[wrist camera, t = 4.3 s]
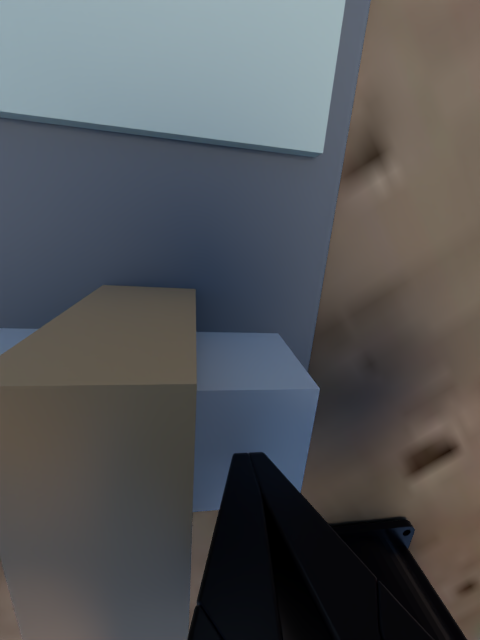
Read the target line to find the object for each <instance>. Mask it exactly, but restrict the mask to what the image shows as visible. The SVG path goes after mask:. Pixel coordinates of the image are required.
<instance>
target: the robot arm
mask: <svg viewBox="0 0 480 640" xmlns="http://www.w3.org/2000/svg"><path fill="white" fill-rule="evenodd" d="M414 531H415V529H414V528H413V526H412V525H411V523H410V522H409V521H408V520H398V521H388V522H378V523H368V524H358V525H349V526H339V527H331V526H330V525H329V524H328V523H327V522H326V521H325V520H324V519H323V518H322V516H321V515H320V514H319V513H318V512H317V511H316V510H315V509H314V508H313V506H312V505H311V504H310V503H309V502H308V501H307V500H306V499H305V498H304V496H303V495H302V494H301V493H300V492H299V491H298V490H297V489H296V488H295V486H294V485H293V484H292V483H291V482H290V481H289V480H288V479H287V478H286V476H285V475H284V474H283V473H282V472H281V471H280V470H279V469H278V468H277V466H276V465H275V464H274V463H273V462H272V461H271V460H270V459H269V458H268V456H267V455H266V454H265V453H263V452H250V453H234V454H233V456H232V459H231V464H230V468H229V472H228V476H227V480H226V484H225V488H224V492H223V496H222V500H221V504H220V509H219V513H218V517H217V521H216V525H215V529H214V533H213V537H212V541H211V545H210V549H209V554H208V558H207V562H206V566H205V570H204V574H203V578H202V582H201V586H200V590H199V594H198V599H197V606H196V607H195V610H194V614H193V618H192V622H191V626H190V630H189V634H188V638H187V640H467V639H466V637H465V636H464V634H463V633H462V631H461V629H460V628H459V626H458V625H457V623H456V622H455V620H454V619H453V617H452V616H451V614H450V613H449V611H448V610H447V608H446V606H445V605H444V603H443V602H442V600H441V599H440V597H439V596H438V594H437V593H436V591H435V590H434V588H433V587H432V585H431V584H430V582H429V580H428V579H427V577H426V576H425V574H424V573H423V571H422V570H421V568H420V567H419V565H418V564H417V562H416V561H415V559H414V557H413V556H412V554H411V553H410V551H409V550H408V548H409V545H410V542H411V540H412V537H413V534H414Z"/></svg>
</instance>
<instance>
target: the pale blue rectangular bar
mask: <svg viewBox="0 0 480 640" xmlns="http://www.w3.org/2000/svg"><path fill="white" fill-rule="evenodd" d="M37 330H38V329H16V328H0V355H1V354H3V353H4V352H6V351H7V350H9V349H10V348H12V347H13V346H15V345H16V344H17V343H19V342H20V341H22V340H23V339H25V338H26V337H28V336H29V335H31V334H32V333H34V332H35V331H37ZM196 358H197V395H196V424H195V454H194V484H193V512H198V511H210V510H219V509H220V504H221V500H222V496H223V492H224V488H225V484H226V480H227V476H228V472H229V468H230V464H231V459H232V456H233V454H234V453H250V452H263V453H265V454H266V455H267V456H268V458H269V459H270V460H271V461H272V462H273V463H274V464H275V465H276V466H277V468H278V469H279V470H280V471H281V472H282V473H283V474H284V475H285V476H286V478H287V479H288V480H289V481H290V482H291V483H292V484H293V485H294V486H295V488H296V489H297V490H298V491H299V492H300V493H301V487H302V482H303V477H304V471H305V466H306V461H307V455H308V450H309V445H310V439H311V434H312V429H313V424H314V418H315V413H316V408H317V402H318V397H319V392H320V388H319V387H318V386H317V384H316V383H315V382H314V380H313V379H312V378H311V376H310V375H309V374H308V372H307V371H306V370H305V368H304V367H303V366H302V364H301V363H300V362H299V360H298V359H297V358H296V356H295V355H294V354H293V352H292V351H291V350H290V348H289V347H288V346H287V344H286V343H285V342H284V340H283V339H282V338H281V336H280V335H279V334H278V333H234V332H196Z"/></svg>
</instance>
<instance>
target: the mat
mask: <svg viewBox="0 0 480 640" xmlns="http://www.w3.org/2000/svg"><path fill="white" fill-rule="evenodd" d="M370 1H371V0H346V1H345V8H344V15H343V21H342V28H341V35H340V42H339V48H338V55H337V62H336V69H335V75H334V82H333V89H332V96H331V102H330V109H329V116H328V122H327V129H326V136H325V143H324V149H323V153H322V154H321V155H319V156H317V157H308V156H300V155H292V154H284V153H277V152H269V151H261V150H253V149H245V148H237V147H229V146H222V145H214V144H206V143H198V142H190V141H182V140H174V139H166V138H159V137H151V136H143V135H135V134H127V133H119V132H111V131H103V130H96V129H88V128H80V127H72V126H64V125H56V124H48V123H41V122H33V121H25V120H17V119H9V118H1V117H0V328H16V329H39V328H41V327H42V326H44V325H45V324H47V323H48V322H50V321H51V320H53V319H54V318H56V317H57V316H58V315H60V314H61V313H63V312H64V311H66V310H67V309H69V308H70V307H72V306H73V305H75V304H76V303H77V302H79V301H80V300H82V299H83V298H85V297H86V296H88V295H89V294H91V293H92V292H94V291H95V290H97V289H98V288H99V287H101V286H102V285H115V286H139V287H162V288H185V289H196V332H234V333H278V334H279V335H280V336H281V338H282V339H283V340H284V342H285V343H286V344H287V346H288V347H289V348H290V350H291V351H292V352H293V354H294V355H295V356H296V358H297V359H298V360H299V362H300V363H301V364H302V366H303V367H304V368H305V370H306V371H307V372H308V367H309V361H310V356H311V350H312V344H313V338H314V332H315V326H316V320H317V314H318V308H319V302H320V297H321V291H322V285H323V279H324V273H325V267H326V261H327V255H328V249H329V243H330V237H331V232H332V226H333V220H334V214H335V208H336V202H337V196H338V190H339V184H340V178H341V173H342V167H343V161H344V155H345V149H346V143H347V137H348V131H349V125H350V119H351V114H352V108H353V102H354V96H355V90H356V84H357V78H358V72H359V66H360V60H361V54H362V49H363V43H364V37H365V31H366V25H367V19H368V13H369V7H370Z"/></svg>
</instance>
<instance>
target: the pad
mask: <svg viewBox="0 0 480 640" xmlns="http://www.w3.org/2000/svg"><path fill="white" fill-rule="evenodd" d="M345 1H346V0H0V117H1V118H9V119H17V120H25V121H33V122H41V123H48V124H56V125H64V126H72V127H80V128H88V129H96V130H103V131H111V132H119V133H127V134H135V135H143V136H151V137H159V138H166V139H174V140H182V141H190V142H198V143H206V144H214V145H222V146H229V147H237V148H245V149H253V150H261V151H269V152H277V153H284V154H292V155H300V156H308V157H317V156H319V155H321V154H322V153H323V149H324V143H325V136H326V129H327V122H328V116H329V109H330V102H331V96H332V89H333V82H334V75H335V69H336V62H337V55H338V48H339V42H340V35H341V28H342V21H343V15H344V8H345Z"/></svg>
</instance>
